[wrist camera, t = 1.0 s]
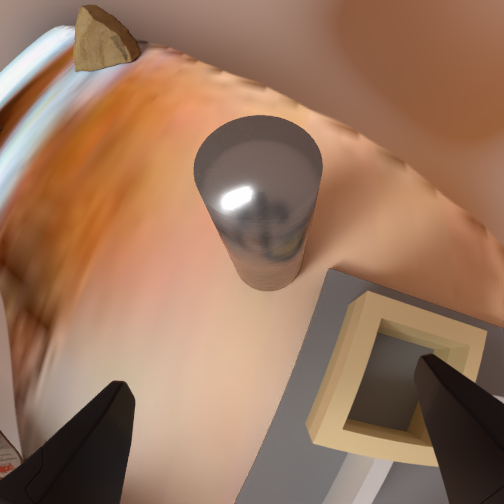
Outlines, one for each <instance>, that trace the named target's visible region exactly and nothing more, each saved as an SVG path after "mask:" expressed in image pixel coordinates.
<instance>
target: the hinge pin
mask: <svg viewBox="0 0 504 504" xmlns="http://www.w3.org/2000/svg"><path fill="white" fill-rule="evenodd" d="M322 168H323V164H322V157H321V153H320V150H319V148H318V146H317V144H316V143H315V141H314V140H313V138H312V137H311V136H310V135H309V134H308V133H307V132H306V131H305V130H304V129H302V128H301V127H299V126H298V125H296V124H294V123H293V122H290V121H288V120H285V119H282V118H279V117H274V116H265V115H255V116H247V117H242V118H239V119H236V120H233V121H230V122H228V123H226V124H224V125H222V126H221V127H219V128H218V129H216V130H215V131H214V132H213V133H211V134H210V135H209V136H208V137H207V138H206V140H205V141H204V142H203V144H202V145H201V147H200V148H199V150H198V153H197V155H196V158H195V162H194V178H195V183H196V186H197V188H198V190H199V193H200V195H201V197H202V199H203V201H204V203H205V205H206V207H207V210H208V212H209V214H210V216H211V218H212V220H213V222H214V224H215V226H216V228H217V231H218V233H219V235H220V237H221V239H222V241H223V243H224V245H225V247H226V249H227V251H228V254H229V256H230V258H231V260H232V262H233V264H234V266H235V268H236V270H237V272H238V274H239V276H240V277H241V279H242V280H243V281H244V282H245V283H246V284H247V285H249V286H250V287H252V288H254V289H257V290H260V291H276V290H279V289H282V288H284V287H286V286H287V285H289V284H290V283H291V282H292V281H293V280H294V279H295V278H296V276H297V274H298V273H299V270H300V267H301V263H302V259H303V255H304V251H305V247H306V243H307V238H308V234H309V230H310V226H311V221H312V217H313V212H314V208H315V204H316V199H317V195H318V190H319V185H320V181H321V176H322Z"/></svg>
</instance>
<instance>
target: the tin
mask: <svg viewBox="0 0 504 504" xmlns="http://www.w3.org/2000/svg"><path fill="white" fill-rule="evenodd" d="M23 462H24V461H23V459H22V457H21V455H20V454H19V452H18V451H17V450H16V449H15V447H14V446H13V445H12V444H11V443H10V442H9V440H8V439H7V438H6V437H5V436H4V434H3V433H2V432H1V431H0V479H2V478H3V477H5V476H6V475H7V474H9V473H10V472H11V471H13V470H14V469H15V468H17V467H18V466H19V465H21V464H22V463H23Z"/></svg>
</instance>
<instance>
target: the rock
mask: <svg viewBox="0 0 504 504" xmlns="http://www.w3.org/2000/svg"><path fill="white" fill-rule="evenodd" d="M73 50H74V51H73V56H74V64H75V71H76V72H77V71H89V72H90V71H94V70H99V69H102V68H105V67H109V66H114V65H116V64H119V63H128V62H132V61H133V60H134V59H135V58H137V57H138V56H139V55H140V54H141V51H140V48H139V46H138V43H137V41H136V40H135V39H134V38H133V36H132V35H131V34H130V33H129V30H128V29H127V28H126V27H125V26H123V25H122V24H121V23H120V21H118V20H117V19H116V18H115V17H114V16H112V15H110V14H108V13H107V12H106V11H104V10H103V9H101V8H99V7H98V6H96V5H86V6H82V7H81V8H80V9H79V15H78V18H77V23H76V28H75V45H74V48H73Z"/></svg>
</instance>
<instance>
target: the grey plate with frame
mask: <svg viewBox="0 0 504 504" xmlns="http://www.w3.org/2000/svg"><path fill="white" fill-rule="evenodd" d="M429 353H432V354H435V355H436V356H437V357H439V358H440V359H442V360H443V361H445V362H446V363H447V364H449V365H450V366H452V367H453V368H455V369H456V370H457V371H459V372H460V373H462V374H463V375H465V376H466V377H467V378H469V379H470V380H472V381H473V382H475V383H476V384H477V385H479V386H480V387H482V388H483V389H484V390H486V391H487V392H489V393H490V394H491V395H493V396H494V397H496V398H497V399H498V400H500V401H501V402H503V403H504V328H501V327H498V326H495V325H492V324H490V323H487V322H484V321H481V320H478V319H476V318H473V317H470V316H467V315H464V314H461V313H458V312H456V311H453V310H450V309H447V308H444V307H441V306H438V305H436V304H433V303H430V302H427V301H424V300H421V299H418V298H415V297H413V296H410V295H407V294H404V293H401V292H398V291H395V290H392V289H389V288H386V287H384V286H381V285H378V284H375V283H372V282H369V281H366V280H363V279H360V278H357V277H354V276H351V275H348V274H345V273H343V272H340V271H337V270H334V269H331V268H329V269H328V271H327V274H326V277H325V280H324V283H323V287H322V290H321V293H320V296H319V299H318V302H317V305H316V308H315V310H314V313H313V316H312V319H311V322H310V325H309V328H308V331H307V333H306V336H305V339H304V342H303V344H302V347H301V350H300V353H299V355H298V358H297V361H296V363H295V366H294V368H293V371H292V374H291V376H290V379H289V381H288V384H287V386H286V389H285V391H284V394H283V396H282V399H281V401H280V404H279V406H278V408H277V411H276V413H275V416H274V418H273V420H272V423H271V425H270V427H269V430H268V432H267V434H266V437H265V439H264V441H263V443H262V446H261V448H260V450H259V452H258V454H257V457H256V459H255V461H254V463H253V465H252V467H251V469H250V472H249V474H248V476H247V478H246V480H245V482H244V484H243V486H242V488H241V490H240V492H239V494H238V496H237V498H236V501H235V504H449V501H448V497H447V494H446V490H445V486H444V483H443V479H442V476H441V472H440V469H439V466H438V462H437V459H436V456H435V453H434V450H433V447H432V443H431V440H430V437H429V434H428V432H427V429H426V426H425V423H424V419H423V415H422V411H421V407H420V403H419V398H418V394H417V390H416V386H415V382H414V371H415V368H416V365H417V362H418V359H419V357H420V356H421V355H424V354H429Z"/></svg>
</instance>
